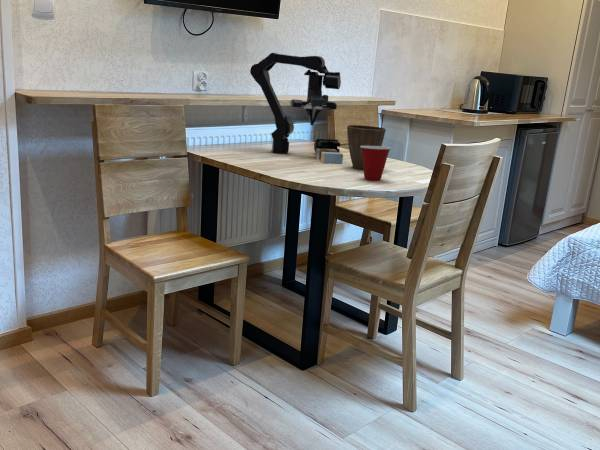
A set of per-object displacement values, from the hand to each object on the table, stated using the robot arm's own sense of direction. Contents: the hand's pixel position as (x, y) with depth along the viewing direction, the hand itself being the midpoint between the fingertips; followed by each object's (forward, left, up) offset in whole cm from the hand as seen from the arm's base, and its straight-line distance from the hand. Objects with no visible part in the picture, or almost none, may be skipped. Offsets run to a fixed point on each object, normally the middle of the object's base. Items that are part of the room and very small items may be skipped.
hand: (311, 125), depth 249 cm
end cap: (+9, +6, -13) cm, 17 cm away
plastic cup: (+13, -47, -13) cm, 50 cm away
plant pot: (+16, -25, -13) cm, 32 cm away
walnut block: (+2, -6, -11) cm, 13 cm away
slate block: (+2, -15, -11) cm, 19 cm away
